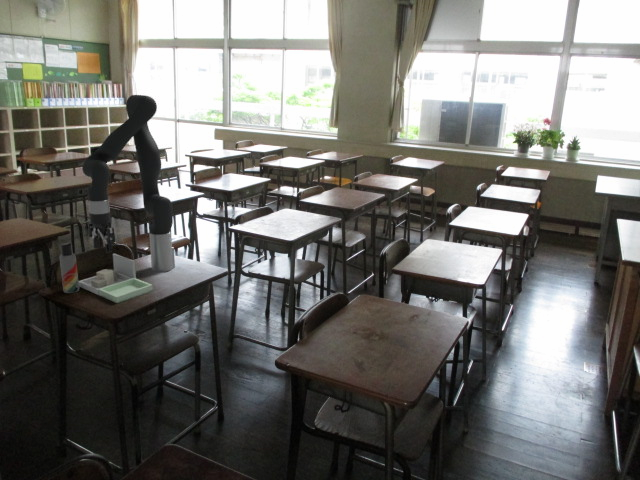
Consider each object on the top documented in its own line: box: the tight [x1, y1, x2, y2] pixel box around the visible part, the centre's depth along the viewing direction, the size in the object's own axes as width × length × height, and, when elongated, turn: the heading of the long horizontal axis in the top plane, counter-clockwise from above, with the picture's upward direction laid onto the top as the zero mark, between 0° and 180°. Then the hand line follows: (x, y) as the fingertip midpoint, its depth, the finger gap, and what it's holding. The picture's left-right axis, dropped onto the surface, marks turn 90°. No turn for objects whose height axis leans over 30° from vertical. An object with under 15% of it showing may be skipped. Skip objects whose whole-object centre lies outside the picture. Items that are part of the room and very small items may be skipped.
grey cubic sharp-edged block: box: [109, 268, 118, 281], centre depth 212 cm, size 4×4×4 cm
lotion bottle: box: [58, 241, 80, 294], centre depth 199 cm, size 6×6×20 cm
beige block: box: [95, 268, 114, 286], centre depth 207 cm, size 4×4×6 cm
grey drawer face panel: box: [112, 253, 137, 279], centre depth 215 cm, size 1×14×10 cm, turn 54°
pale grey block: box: [91, 278, 107, 289], centre depth 203 cm, size 4×4×4 cm
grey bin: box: [78, 272, 132, 296], centre depth 209 cm, size 16×14×2 cm
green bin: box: [98, 277, 154, 304], centre depth 201 cm, size 16×12×3 cm
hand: (103, 250), depth 204 cm, fingers open, 8 cm apart
